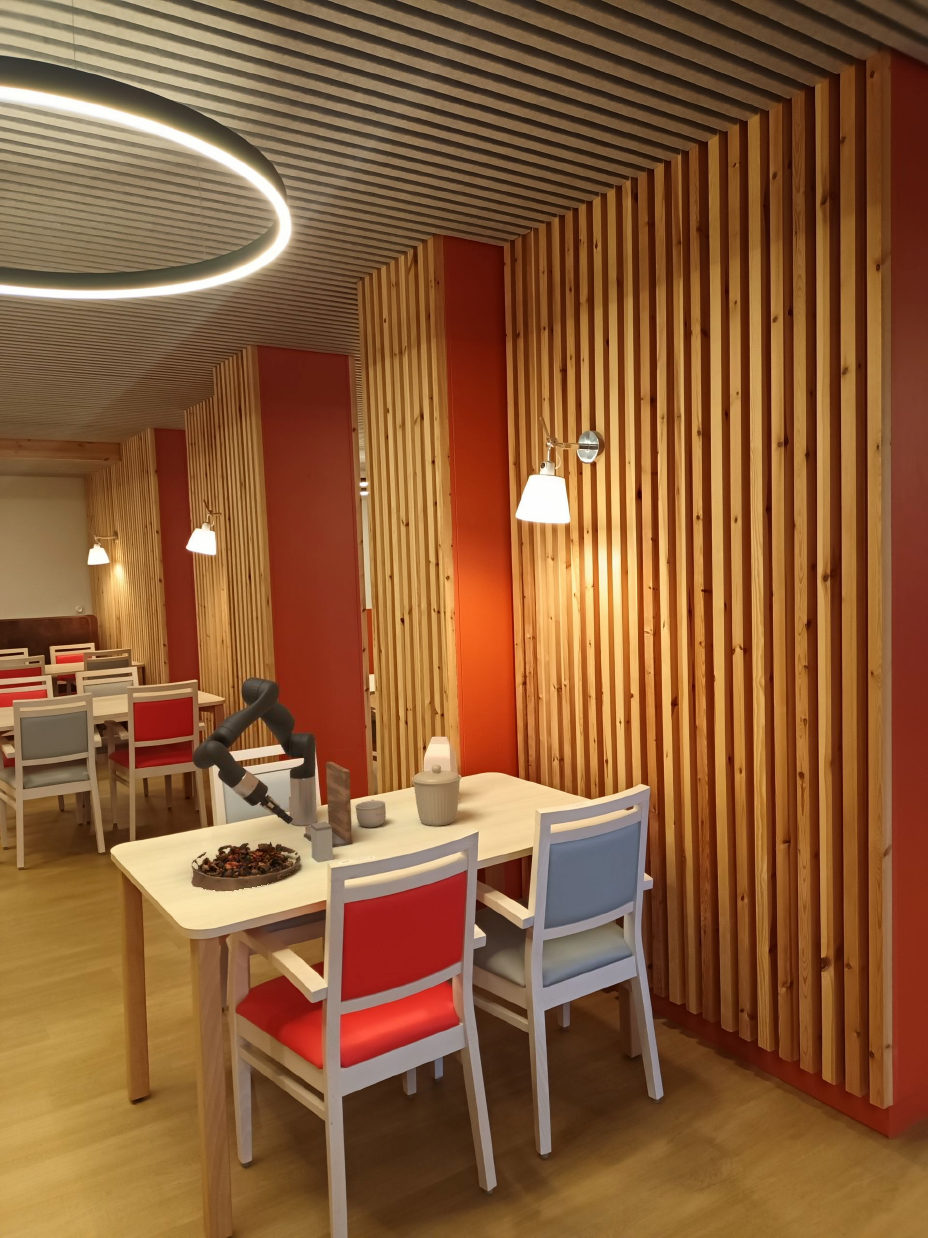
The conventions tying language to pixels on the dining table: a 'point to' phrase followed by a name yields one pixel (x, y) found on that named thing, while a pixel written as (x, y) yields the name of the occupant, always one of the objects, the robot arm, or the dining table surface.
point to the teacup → (371, 813)
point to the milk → (440, 755)
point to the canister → (437, 795)
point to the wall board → (337, 805)
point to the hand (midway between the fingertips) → (286, 818)
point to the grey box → (321, 841)
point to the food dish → (243, 867)
